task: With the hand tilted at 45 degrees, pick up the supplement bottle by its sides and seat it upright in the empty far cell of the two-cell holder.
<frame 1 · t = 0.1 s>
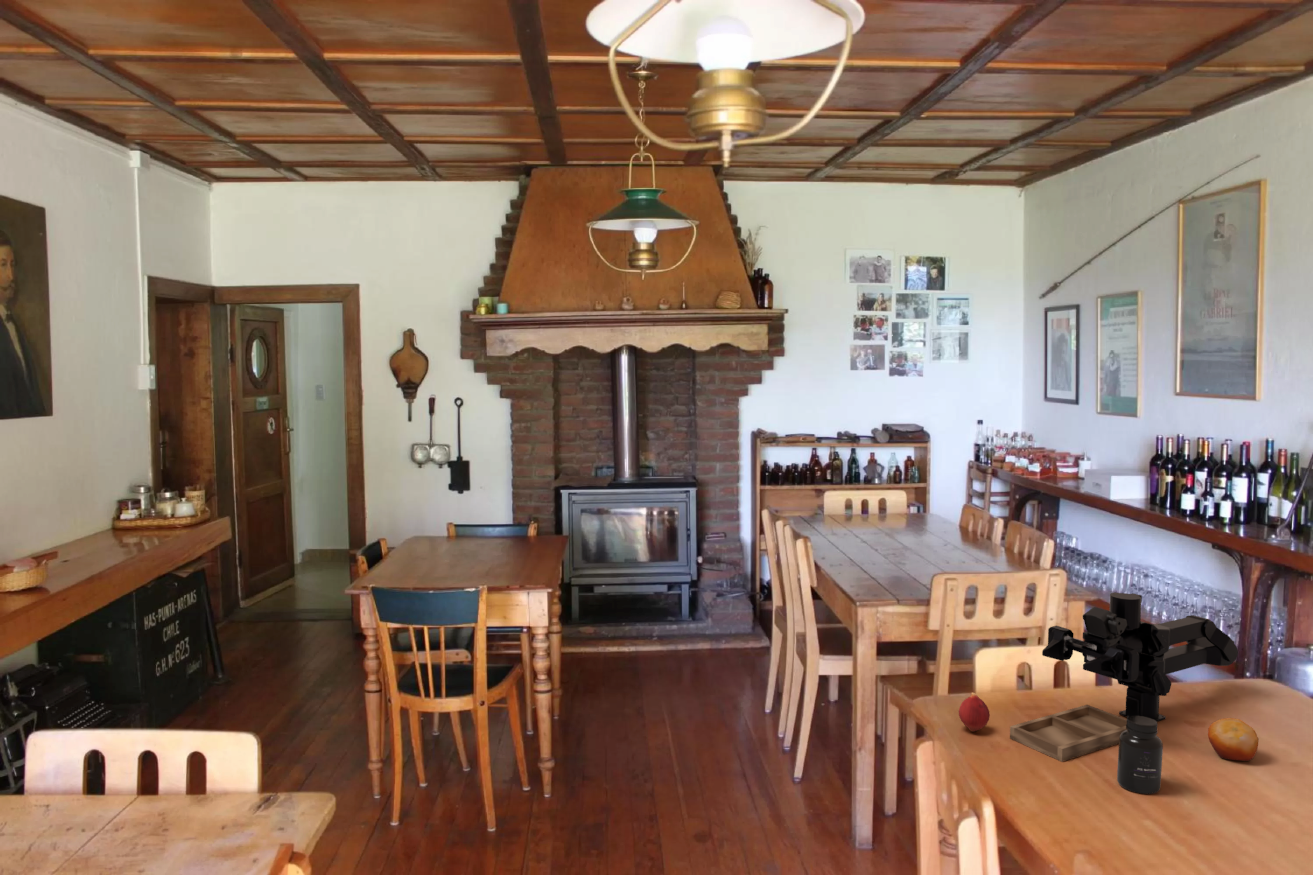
hand: (1062, 659, 178), 17 cm above the table, tool horizontal, fingers open, 9 cm apart
holder: (1075, 737, 182), on the table
fruit: (1231, 757, 173), on the table
onion: (973, 732, 185), on the table
supplement bottle: (1138, 787, 161), on the table
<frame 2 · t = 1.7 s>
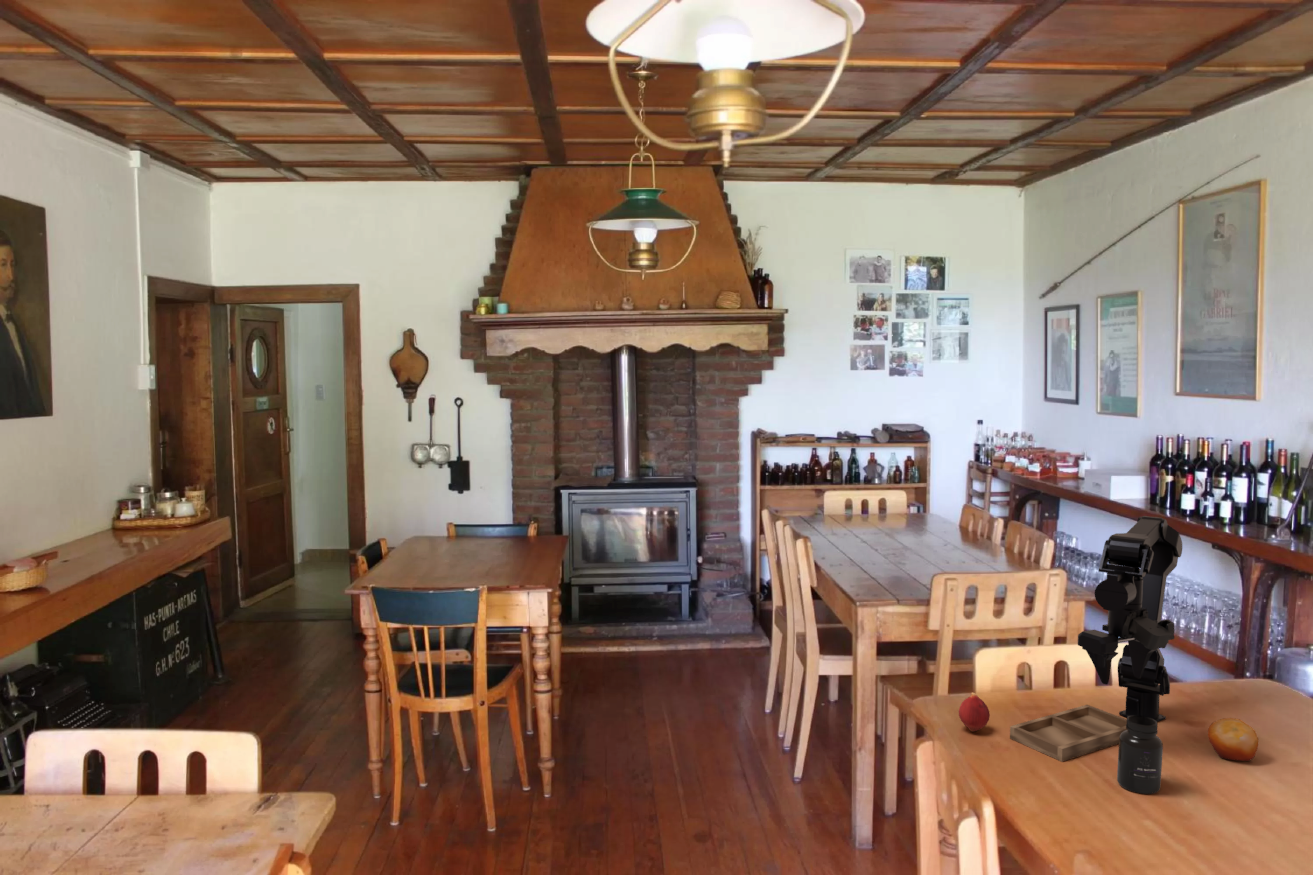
hand: (1121, 680, 177), 13 cm above the table, tool pointing down, fingers open, 9 cm apart
nothing on the table moved.
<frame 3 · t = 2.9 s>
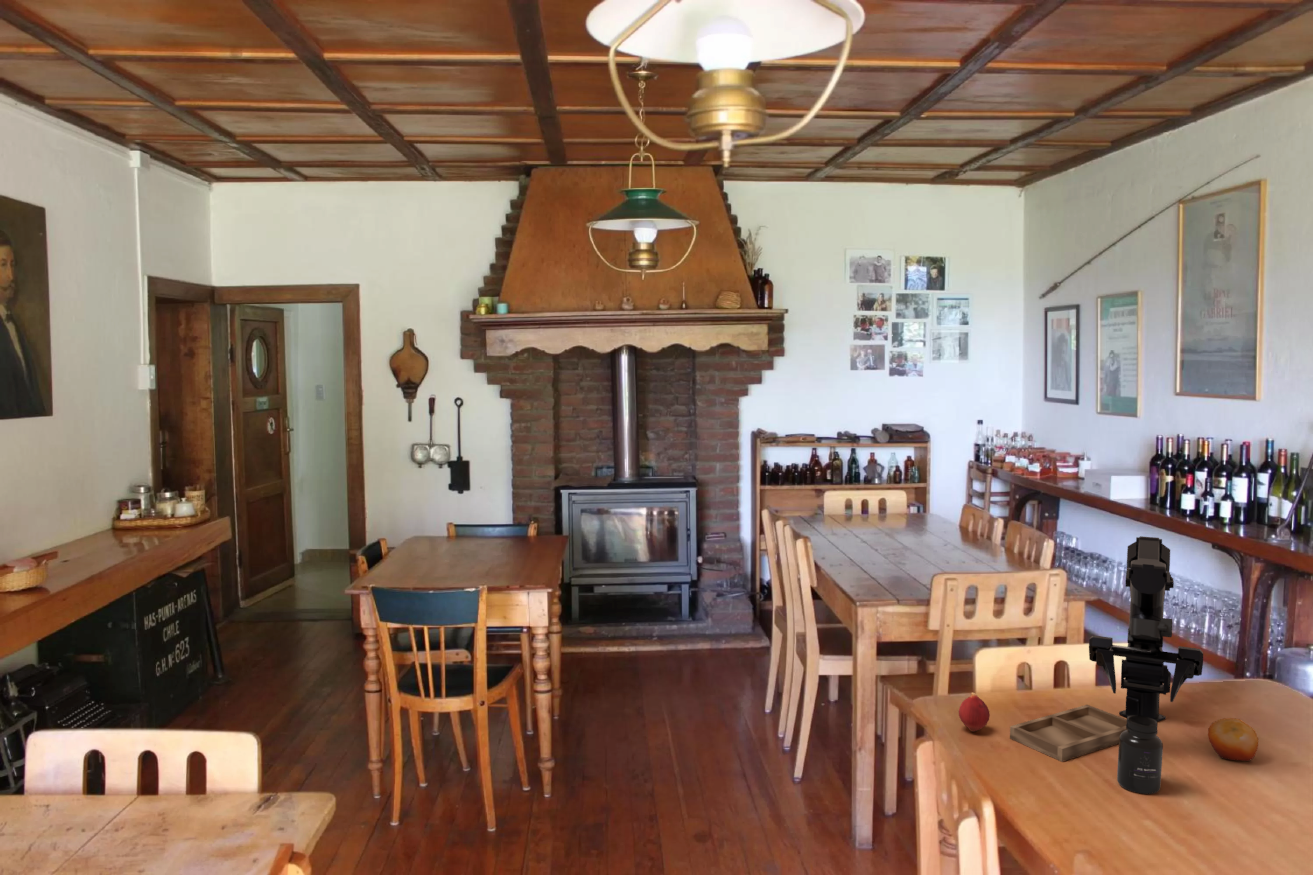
hand: (1142, 696, 167), 13 cm above the table, tool tilted 45°, fingers open, 9 cm apart
nothing on the table moved.
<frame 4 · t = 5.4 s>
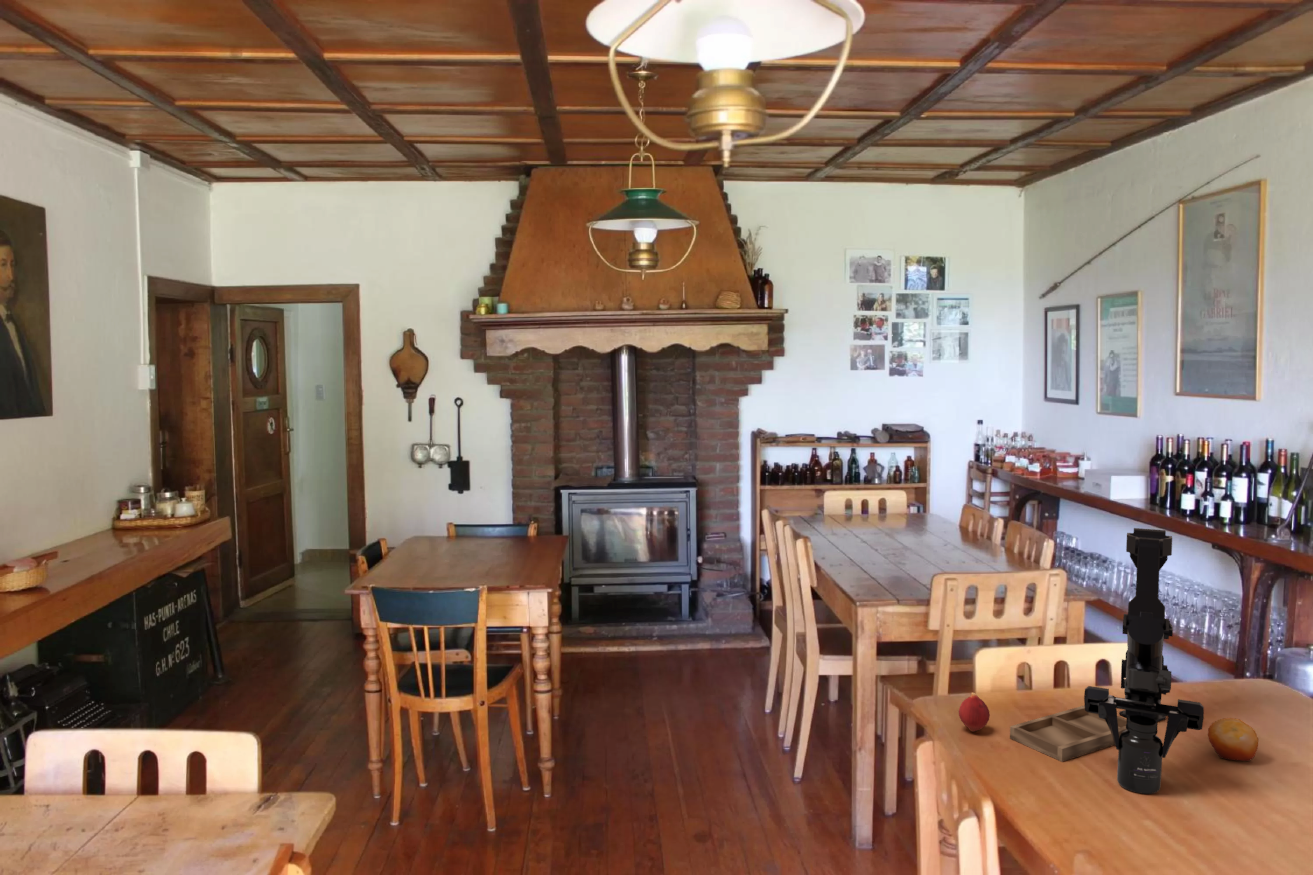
hand: (1140, 752, 160), 7 cm above the table, tool tilted 45°, fingers closed on supplement bottle, 7 cm apart
supplement bottle: (1138, 786, 161), on the table, touching gripper
everything else where it was.
when the fingers open (8 cm above the table, at t = 10.1 s): supplement bottle stays where it is, resting on holder.
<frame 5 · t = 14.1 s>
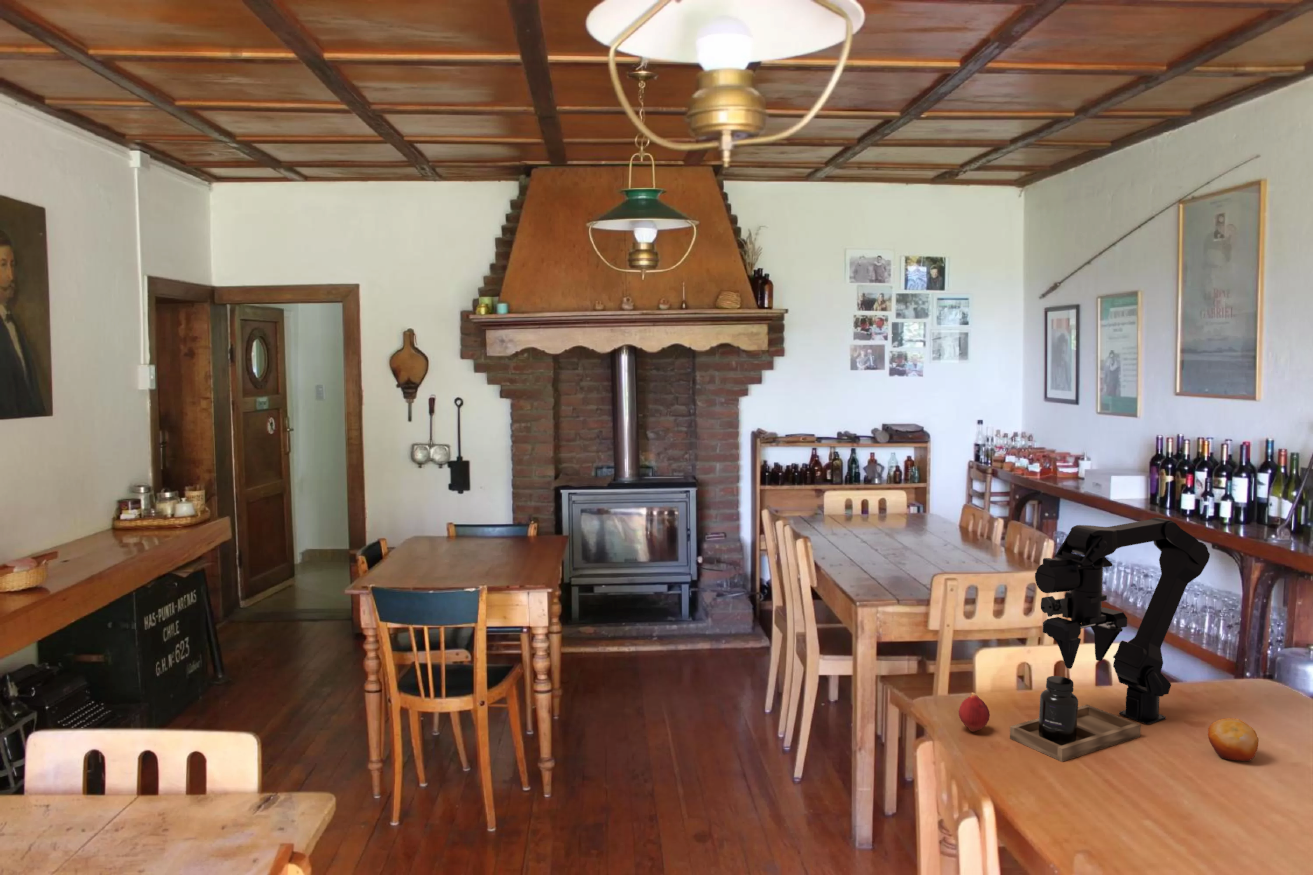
hand: (1083, 664, 186), 13 cm above the table, tool pointing down, fingers open, 9 cm apart
supplement bottle: (1057, 740, 179), point 1 cm above the table, touching holder
everything else where it was.
at the end: supplement bottle inside the target area (0.2 cm from its centre), point 0.6 cm above the table; supplement bottle tilted 0°; the gripper is holding nothing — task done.
